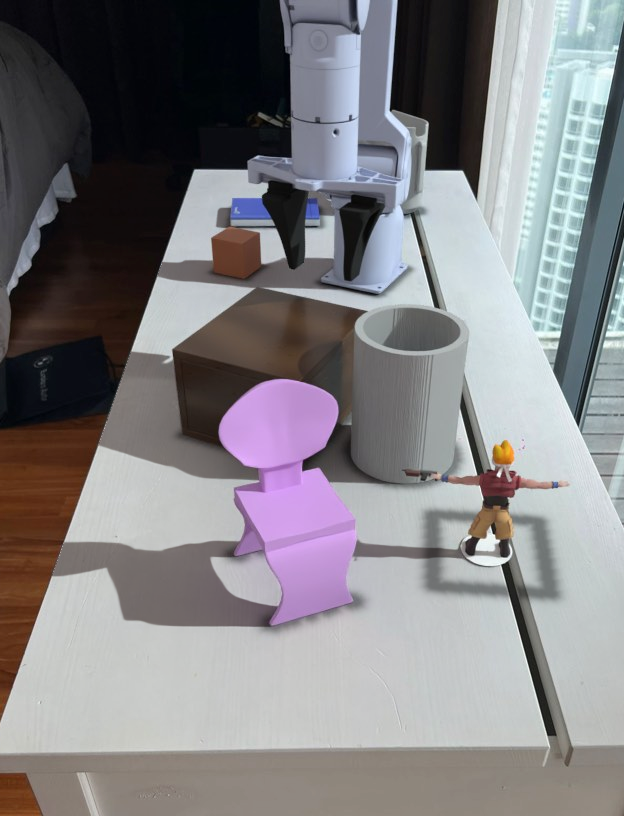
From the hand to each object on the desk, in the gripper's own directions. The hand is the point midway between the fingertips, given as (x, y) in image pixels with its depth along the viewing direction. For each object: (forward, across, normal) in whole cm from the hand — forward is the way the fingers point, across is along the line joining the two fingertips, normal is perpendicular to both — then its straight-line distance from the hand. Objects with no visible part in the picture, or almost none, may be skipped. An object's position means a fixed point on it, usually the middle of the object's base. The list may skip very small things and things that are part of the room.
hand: (323, 271), depth 80 cm
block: (+10, -21, +18) cm, 30 cm away
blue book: (+11, -26, +37) cm, 47 cm away
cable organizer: (+11, -14, +50) cm, 53 cm away
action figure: (+11, +23, -21) cm, 33 cm away
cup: (+11, +13, -11) cm, 20 cm away
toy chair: (+11, +12, -30) cm, 34 cm away
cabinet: (+10, 0, -10) cm, 14 cm away
